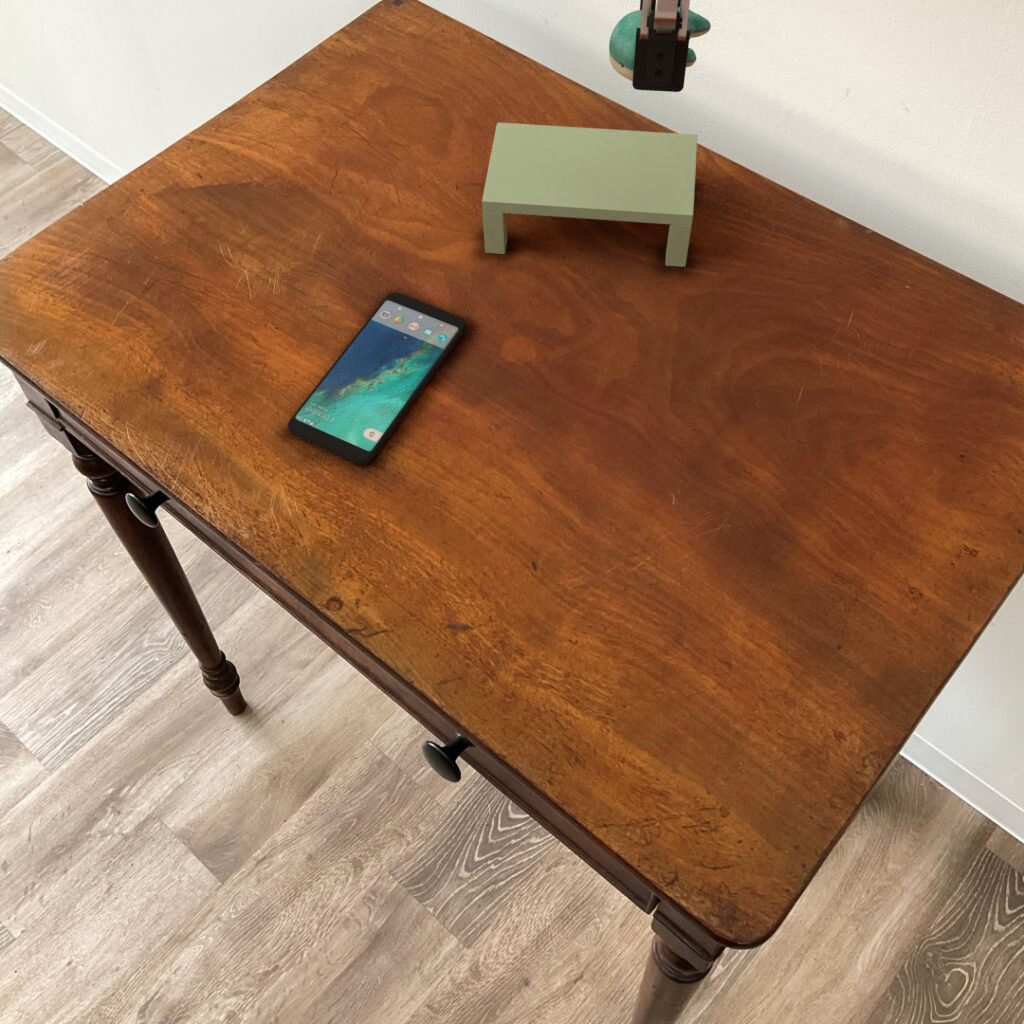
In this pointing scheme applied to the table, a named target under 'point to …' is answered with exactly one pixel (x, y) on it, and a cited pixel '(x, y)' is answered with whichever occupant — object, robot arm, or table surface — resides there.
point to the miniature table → (591, 179)
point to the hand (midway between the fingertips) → (660, 47)
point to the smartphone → (377, 378)
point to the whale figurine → (626, 38)
